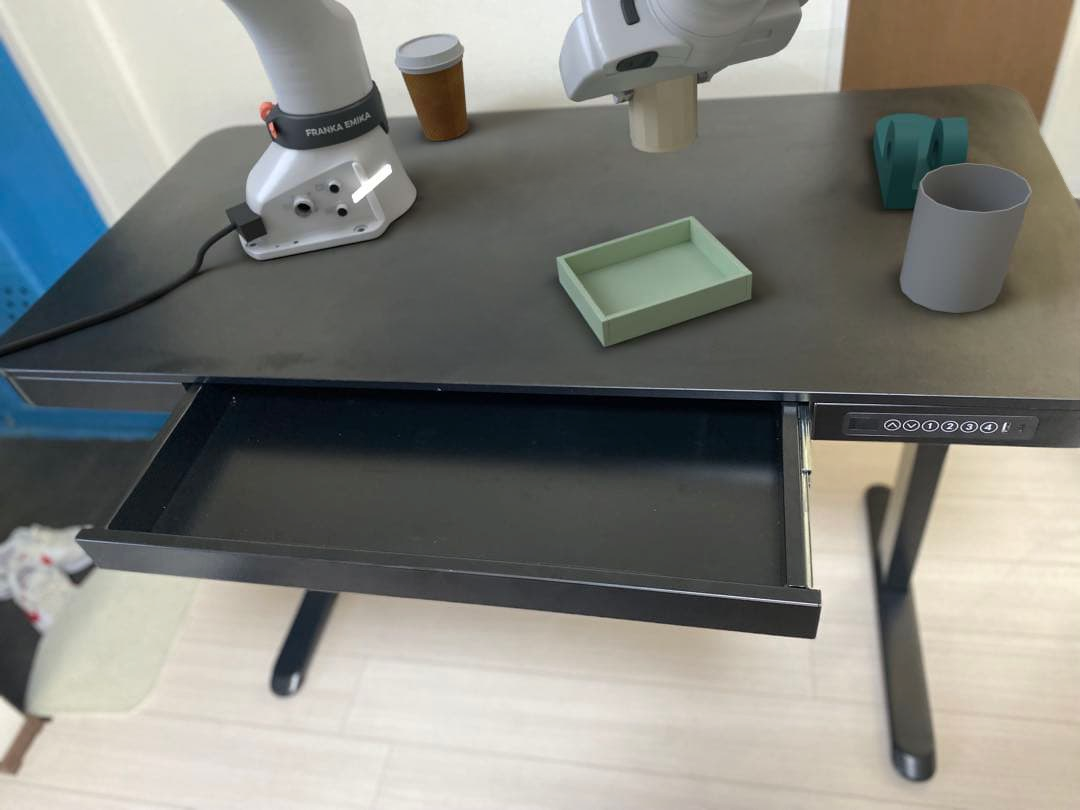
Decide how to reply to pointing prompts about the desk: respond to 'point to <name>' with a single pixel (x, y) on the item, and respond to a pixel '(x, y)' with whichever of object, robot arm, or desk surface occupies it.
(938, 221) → the cup
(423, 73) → the disposable coffee cup
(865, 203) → the desk surface
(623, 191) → the desk surface
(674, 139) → the tumbler
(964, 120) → the bracket
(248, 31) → the robot arm
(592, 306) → the tray
